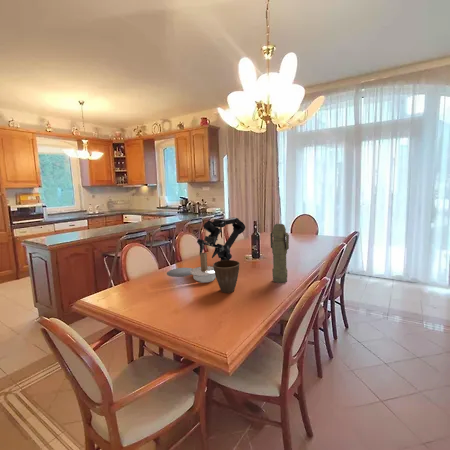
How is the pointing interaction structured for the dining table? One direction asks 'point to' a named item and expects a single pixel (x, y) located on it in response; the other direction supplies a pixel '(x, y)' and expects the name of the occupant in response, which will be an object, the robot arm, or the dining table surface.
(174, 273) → the mat
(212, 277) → the bowl
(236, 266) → the plant pot
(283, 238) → the stone statue
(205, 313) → the dining table surface
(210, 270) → the lid
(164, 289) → the dining table surface
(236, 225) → the robot arm
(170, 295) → the dining table surface
